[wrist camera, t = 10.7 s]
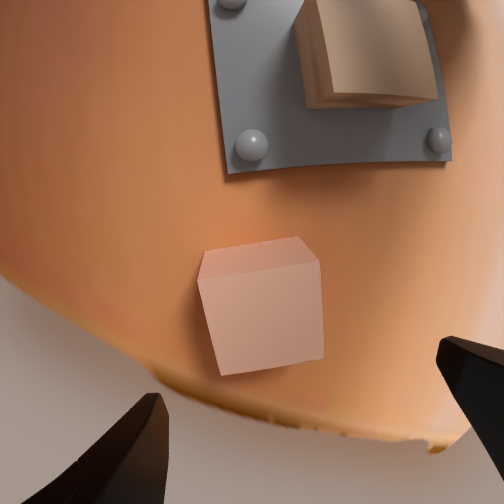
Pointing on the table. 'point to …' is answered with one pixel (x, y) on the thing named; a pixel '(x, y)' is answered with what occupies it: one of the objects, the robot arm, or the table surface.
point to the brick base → (363, 54)
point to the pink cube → (263, 304)
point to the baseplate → (294, 104)
